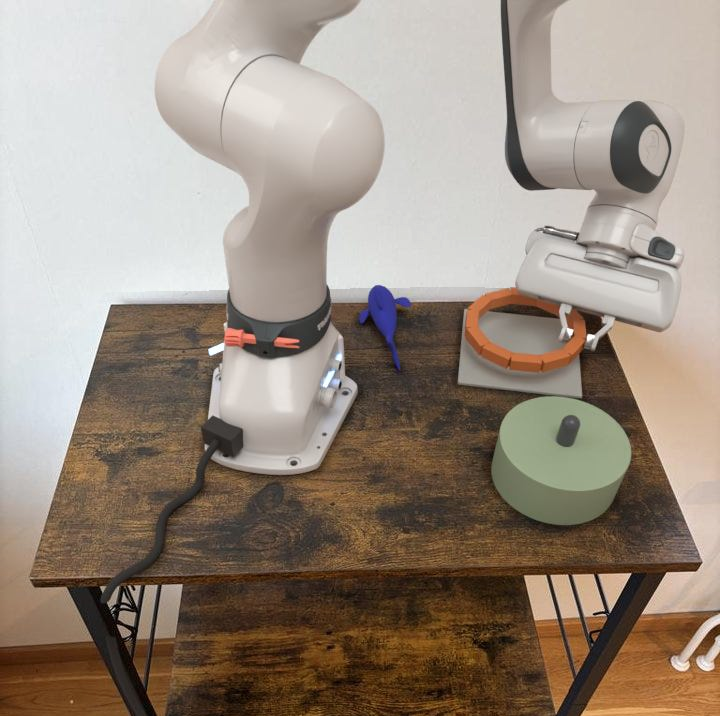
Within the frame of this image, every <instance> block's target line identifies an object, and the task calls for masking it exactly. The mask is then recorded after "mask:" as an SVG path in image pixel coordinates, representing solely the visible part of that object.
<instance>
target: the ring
mask: <svg viewBox="0 0 720 716" xmlns="http://www.w3.org/2000/svg"><path fill="white" fill-rule="evenodd" d="M508 305H519V306H529V307H530V306H531V307H537V308H539V309H541V310H544V311H546V312H548V313H550V314H553V315H555V316H556V317H558V319H560V316H559V310H560V307H561V306H559V305H556V304H552V303H548V302H545V301H541V300H537V299H533V298H530V297H526V296H522V295H520V294H519V293H518V291H517V289H516V287H511V288H509V287H506V288H503V289H498V290H494V291H490V292H486V293H485V294H482V295H481V296H480V297H478V299H477V298H476V300H475V301H474V302H473V303H472V304H470V305H469V306H468V307H467V309H468V310H467V313H466V321H465V336H466V337H465V338H466V340H467V341H468V342H469V344H470V345H471V346H472V347H473V349H474V350H475V351H476V352H477V354H478V355H481V357H482V358H484V359H486V360H488V361H491V362H493V363H495V364H497V365H499V366H501V367H503V368H505V369H507V368H508V367H509V370H517V371H527V372H537V373H539V372H540V370H541V372H546V371H550V370H553V369H557V368H560V367H564V366H567V365H568V363H569V364H570V363H571V362H572V361H573V360H574V359H575V358H576V357H577V356H578V354H579V355H580V354H581V352H582V351H583V350H584V349H583V347H584V344H585V342H586V338H587V328H586V320H585V319H584V317H583V316H582V315H581V314H580V313H579V312H578V310H574V309H572V311H571V314H570V316H569V317H568V316H566V315H565V316H566V321H567V326H568V327H569V329H573V330H574V332H573V335H572V337H571V340H570V341H569V342H568V343H567V344H566V345H565V347H564V348H563V349H559V350H556V351H552V352H549V353H545V354H541V355H534V354H524V353H513V352H511V351H509V350H507V349H504V348H502V347H500V346H498V345H496V344H494V343H491V342H490V341H489V340H488V338H487V337H486V336H485V335H484V333H483V332H482V331H481V330H480V329H479V327H478V320H479V319H480V318H481V317H482V316H483V315H484V314H485V313H486V312H488V311H490V310H493V309H496V308H500V307H504V306H508Z"/></svg>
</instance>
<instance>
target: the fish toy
mask: <svg viewBox="0 0 720 716" xmlns="http://www.w3.org/2000/svg"><path fill="white" fill-rule="evenodd" d="M397 305H399V306H402V307H405V308H410V307H411V305H412V304H411V301H410V299H409V298H408V297H406V296H402V297H396V298H395V297H394V295H393V293H392V292H391V291H390V290H389V289H388V288H387V287H386V286H384V285H382V284H375V285H374V286H372V288H371V289H370V290H369V293H368V297H367V306H368V307H367V308H366V309H364V310H362V311H361V312H360V313H359V317H358V320H359V323H360V324H361V325H362V324H364V323H365V322H366V320H367V318H368V317H369V314H370V316H371V317H372V320H373V322H374V324H375V326H376V328H377V330H378V331H379V332H380V334H382V335H383V336H384V338H385V341H386V344H387V347H388V349H389V351H390V354H391V356H392V360H393V362H394V365H395V366H396V368H397V370H398V371H399V372H401V369H402V368H401V364H400V363H401V362H400V359H399V354H398V351H397V348H396V345H395V342H394V337H395V334H396V330H397V323H398V319H397V318H398V313H397V312H398V311H397Z"/></svg>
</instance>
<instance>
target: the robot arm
mask: <svg viewBox="0 0 720 716" xmlns="http://www.w3.org/2000/svg"><path fill="white" fill-rule="evenodd" d="M569 1H570V0H500V24H501V27H500V29H501V45H502V59H503V60H502V61H503V76H504V77H503V78H504V91H505V92H504V93H505V105H506V126H505V127H506V128H505V136H504V137H505V138H504V158H505V163H506V167H507V169H508V171H509V172H510V174H511V176H512V177H513V179H514V180H515V182H516V183H517V184H518V185H519V187H521V188H522V189H523V190H526V191H531V192H534V191H549V190H551V191H552V190H553V191H554V190H557V189H559V190H577V191H579V190H581V191H592V190H593V191H594V192H595V194H594V196H593V198H592V200H591V201H590V203H589V204H588V206H587V208H586V211H585V215H584V217H583V220H582V222H581V226H580V228H579V231H573V230H569V229H562V228H556V227H555V226H551V225H544V226H543V227H538V228H535V229H534V230H533V231H531V233H530V234H529V236H528V238H527V242H526V244H525V247H524V248H525V249H524V250H525V255H526V256H525V258H524V259H523V262H522V263H521V266H520V268H519V271H518V273H517V275H516V278H515V281H514V286H515V288H516V289H517V291H518V293H519V294H520V295H522V296H526V297H530V298H533V299H537V300H541V301H545V302H548V303H552V304H556V305H559V306H561V307H560V310H559V316H560V318H559V319H560V321H561V326H562V330H561V333H560V336H559V339H558V342H562V343H565V344H567V343H568V342H569V341H570V340H571V337H572V335H573V332H574V330H573V329H569V328H568V326H567V321H566V316H568V317H569V316H570V314H571V311H572V309H574V310H576V311H577V312H578V311H579V312H582V313H585V314H590V315H594V316H596V317H600V318H602V321H601V326H602V327H601V329H599V330H598V331H597V332H596V333H595V334H590V333H587V334H586V336H587V338H586V342H585V344H584V347H583V350H587V351H590V352H593V353H594V352H595V351H596V348H597V346H598V342H599V341H600V340H601V339H602V338H603V337H604V336H605V335H607V333H609V332H610V331H611V330H612V329H613V327H614V323H615V322H619V323H622V324H626V325H630V326H633V327H638V328H641V329H645V330H649V331H651V332H655V333H663V332H665V331H667V330H668V329H669V328H670V327H671V326H672V325H673V321H674V318H675V315H676V312H677V309H678V304H679V301H680V296H681V290H682V276H681V273H680V271H679V270H680V268H681V267H682V265H683V263H684V258H685V250H684V248H683V247H682V246H680V245H679V244H676V242H673V241H672V240H670V239H668V238H667V237H665V236H664V235H662V234H660V233H659V232H657V231H656V228H657V226H658V222H659V221H658V220H659V211H660V208H661V205H662V203H663V202H664V200H665V199H666V197H668V194H669V192H670V190H671V188H672V187H671V186H672V183H673V182H674V178H675V174H676V171H677V168H678V164H679V161H680V158H681V157H680V156H681V152H682V147H683V143H684V137H685V121H684V119H683V116H682V115H681V114H680V112H679V111H677V110H676V109H675V108H674V107H672V106H670V105H669V104H667V103H664V102H662V101H657V100H643V101H641V100H633V99H610V100H609V99H605V100H597V101H578V102H577V101H574V102H565V101H562V100H560V99H559V98H557V96H556V95H555V94H554V92H553V89H552V87H553V86H552V44H551V43H552V42H551V41H552V37H551V35H552V34H551V29H552V23H553V19H554V15H555V14H556V12H557V11H558V9H559V8H560V7H562V6H563V5H565V4H566V3H568V2H569ZM361 2H362V0H213V2H212V4H211V5H210V6H209V8H208V10H207V11H206V12H205V14H204V15H203V17H202V18H201V19H200V21H198V23H197V24H196V25H195V26H194V27H193V28H192V29H190V31H188V32H186V33H185V34H184V35H182V36H180V37H179V38H177V39H176V40H174V41H173V42H172V43H171V44H170V45H169V46H168V47H167V49H166V50H165V51H164V53H163V54H162V56H161V58H160V61H159V63H158V64H157V68H156V71H155V78H154V97H155V98H154V99H155V103H156V107H157V111H158V112H159V114H160V117H161V118H162V121H164V123H165V124H166V125H167V127H168V128H169V129H170V130H172V131H173V132H174V134H176V135H177V136H178V137H179V138H180V139H181V140H182V141H183V142H184V143H186V145H188V146H189V147H190V148H191V149H192V150H193V151H195V152H196V153H197V154H199V155H201V156H203V157H205V158H207V159H209V160H210V161H213V162H215V163H217V164H219V165H221V166H223V167H225V168H227V169H229V170H230V171H233V172H234V173H236V174H237V175H239V176H240V177H241V178H242V180H243V183H245V185H246V187H247V192H248V205H246V206H245V207H243V208H242V209H241V210H240V211H238V212H237V213H236V214H235V215H233V217H232V219H231V220H230V221H229V223H228V224H227V226H226V227H225V229H224V232H223V237H222V245H223V253H224V261H225V268H226V276H227V283H228V290H227V293H226V306H225V312H226V313H225V314H226V322H224V323H223V329H224V340H223V342H222V343H220V344H218V345H215V346H212V347H210V348H208V355H210V356H213V355H215V354H217V353H220V352H222V362H221V363H219V365H218V366H217V367H216V368H215V369H214V371H213V373H212V374H213V375H212V381H211V382H212V383H211V390H210V399H209V400H210V401H209V407H208V415H207V420H206V421H205V422H204V423H203V424H202V425H201V426H200V429H201V434H202V439H203V444H204V452H203V454H202V456H201V458H200V460H199V461H198V464H197V466H196V470H195V471H196V472H195V481H194V483H193V484H192V486H191V487H190V488H189V489H187V491H186V492H184V493H182V494H181V495H179V496H178V497H176V498H174V499H173V500H171V501H170V502H169V503H168V504H166V505H165V506H164V508H162V510H161V512H160V514H159V515H158V518H157V520H156V526H155V539H154V544H153V546H152V548H151V550H150V552H149V553H148V554H147V555H146V556H145V558H143V559H142V560H140V561H139V562H137V563H135V564H133V565H131V566H129V567H127V568H125V569H123V570H122V571H120V572H119V573H118V574H116V575H115V576H113V577H112V578H111V580H109V582H108V583H107V584H106V586H105V588H104V590H103V592H102V594H101V596H100V600H99V601H100V603H101V604H108V602H110V600H111V598H112V596H113V594H114V593H115V591H116V590H117V588H118V587H119V586H120V585H121V584H122V583H124V582H125V581H127V580H129V579H130V578H131V577H134V576H135V575H137V574H139V573H141V572H143V571H145V570H146V569H147V568H149V567H150V566H152V564H154V563H155V562H156V560H157V559H158V558H159V557H160V555H161V553H162V551H163V550H164V549H163V548H164V544H165V536H166V534H165V533H166V526H167V525H166V524H167V521H168V519H169V517H170V515H171V514H172V513H173V512H174V511H175V510H177V508H179V507H180V506H182V505H184V504H185V503H188V502H189V501H190V500H191V499H193V498H194V497H196V495H198V493H199V491H201V489H202V488H203V486H204V484H205V473H206V469H207V466H208V464H209V462H210V460H212V461H213V462H215V463H217V464H219V465H221V466H223V467H225V468H229V469H233V470H236V471H241V472H246V473H253V474H259V475H268V476H269V475H272V476H291V475H299V474H305V473H308V472H312V471H315V470H318V469H319V468H320V466H321V465H322V463H323V461H324V459H325V458H326V455H327V454H328V452H329V449H330V448H331V446H332V444H333V442H334V440H335V438H336V437H337V434H338V433H339V430H340V429H341V427H342V425H343V423H344V421H345V419H346V417H347V416H348V414H349V412H350V409H352V408H351V407H352V406H353V404H354V402H355V400H356V399H357V396H358V394H359V389H358V388H359V387H358V384H357V382H356V381H354V380H353V379H352V378H350V377H349V376H347V375H346V365H345V364H346V363H345V345H344V344H345V343H344V337H343V336H342V334H341V333H340V332H339V330H338V329H337V328H336V327H335V326H334V324H333V323H332V321H331V320H332V311H333V310H332V308H333V302H332V297H331V290H330V287H329V285H328V283H327V279H328V278H327V270H328V269H327V268H328V267H327V266H328V265H327V264H328V243H329V242H328V241H329V235H330V231H331V227H332V226H333V225H332V224H333V222H334V220H335V218H336V217H337V216H338V214H339V213H342V211H345V210H348V209H350V208H351V207H352V206H354V205H356V204H357V203H358V202H360V201H361V200H362V199H363V198H364V197H365V196H366V195H367V194H368V193H369V192H370V190H371V189H372V187H373V186H374V184H375V182H376V180H377V179H378V176H379V175H380V171H381V169H382V166H383V162H384V158H385V147H386V143H385V142H386V141H385V140H386V138H385V130H384V125H383V122H382V118H381V116H380V114H379V112H378V111H377V110H376V108H375V107H374V106H372V104H371V103H369V102H368V101H367V100H365V99H364V98H363V97H361V96H360V95H359V94H358V93H357V92H355V91H354V90H352V89H351V88H350V87H348V86H347V85H346V84H345V83H343V82H341V81H340V80H339V79H337V78H335V77H333V76H330V75H328V74H325V73H323V72H320V71H318V70H315V69H313V68H310V67H308V66H306V65H304V64H301V62H302V59H303V57H304V56H305V54H306V52H307V50H308V49H309V46H310V45H311V43H312V42H313V40H314V39H315V38H316V36H317V35H318V34H319V33H320V32H321V31H322V30H323V29H324V28H325V27H326V26H327V25H329V24H330V23H333V22H335V21H337V20H340V19H342V18H345V17H347V16H348V15H349V14H351V13H352V12H353V11H355V10H356V9H357V7H358V6H359V5H360V3H361ZM565 315H566V316H565ZM105 640H106V644H107V645H106V646H107V650H108V653H109V656H110V661H111V664H112V667H113V670H114V673H115V676H116V678H117V681H118V683H119V685H120V687H121V690H122V692H123V694H124V696H125V698H126V699H127V701H128V703H129V705H130V707H131V708H132V710H133V711H134V713H135V715H136V716H147V715H146V713H145V711H144V709H143V708H142V706H141V705H140V703H139V701H138V698H137V697H136V695H135V692H134V691H133V689H132V686H131V685H130V683H129V680H128V677H127V675H126V672H125V668H124V666H123V662H122V659H121V655H120V651H119V647H118V642H117V637H115V636H109V635H105Z"/></svg>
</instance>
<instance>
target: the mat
mask: <svg viewBox="0 0 720 716" xmlns="http://www.w3.org/2000/svg"><path fill="white" fill-rule="evenodd" d="M467 310H468V308H464V309H463V318H462V329H461V341H460V350H459V351H460V353H459V361H458V365H459V366H458V373H457V374H458V375H457V385H459V386H468V387H477V388H484V389H485V388H486V389H493V390H503V391H512V392H521V393H530V394H537V395H545V396H557V397H567V398H572V399H583V388H582V386H583V385H582V375H581V374H582V373H581V362H580V361H581V360H580V353H579V354H578V356H577V357H576V358H575V359H574V360H573V361H572V362H571V363H570V364H569V363H568V365H567V366H564V367H560V368H557V369H553V370H550V371H546V372H541V370H540V372H539V373H537V372H527V371H517V370H509V367H508V368H507V369H505V368H503V367H501V366H499V365H497V364H495V363H493V362H491V361H488V360H486V359H484V358H482V357H481V355H478V354H477V352H476V351H475V350H474V349H473V347H472V346H471V345H470V344H469V342H468V341H467V340H466V338H465V337H466V336H465V321H466V313H467ZM478 327H479V329H480V330H481V331H482V332H483V333H484V335H485V336H486V337H487V338H488V340H489V341H490V342H491V343H494V344H496V345H498V346H500V347H502V348H504V349H507V350H509V351H511V352H513V353H524V354H534V355H541V354H545V353H549V352H552V351H556V350H559V349H563V348H564V347H565V345H566V344H565V343H562V342H558V339H559V336H560V333H561V330H562V326H561V321H560V318H556V317H555V318H554V317H547V316H545V317H544V316H536V315H528V314H517V313H510V312H509V313H507V312H500V311H499V312H498V311H490V310H489V311H488V312H486V313H485V314H484V315H483V316H482V317H481V318H480V319H479V320H478ZM568 328H569V327H568Z"/></svg>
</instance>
